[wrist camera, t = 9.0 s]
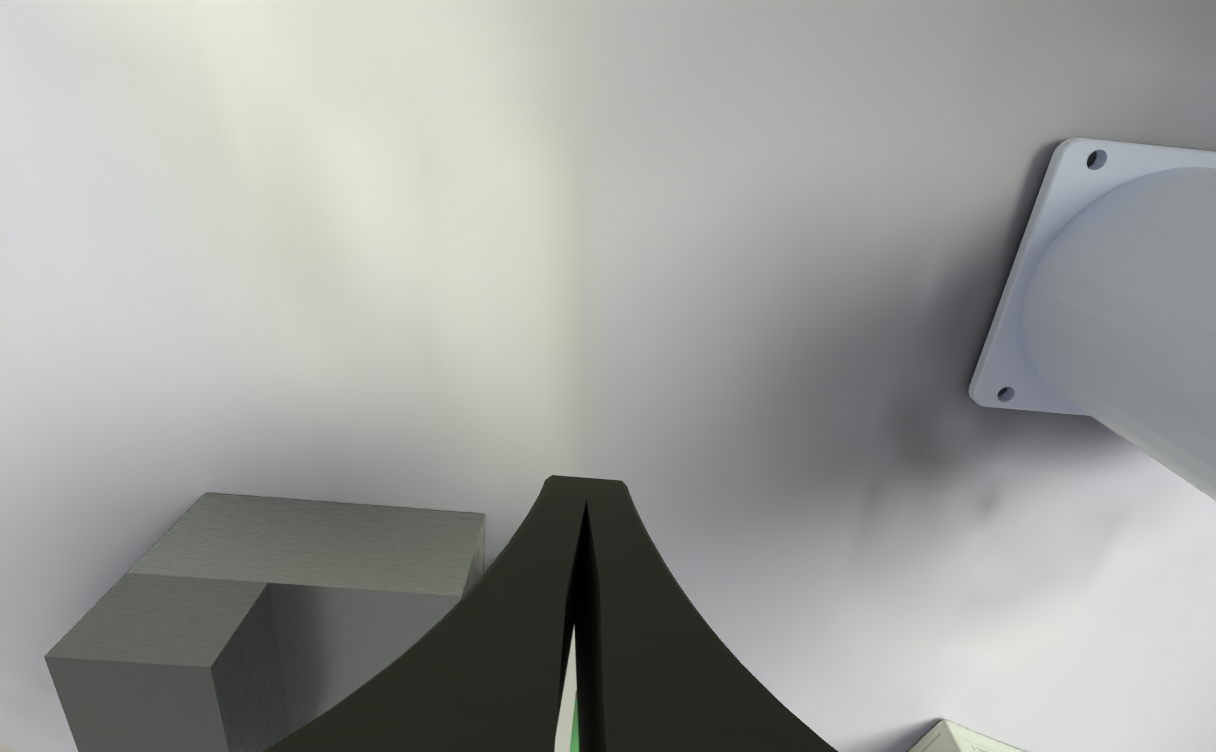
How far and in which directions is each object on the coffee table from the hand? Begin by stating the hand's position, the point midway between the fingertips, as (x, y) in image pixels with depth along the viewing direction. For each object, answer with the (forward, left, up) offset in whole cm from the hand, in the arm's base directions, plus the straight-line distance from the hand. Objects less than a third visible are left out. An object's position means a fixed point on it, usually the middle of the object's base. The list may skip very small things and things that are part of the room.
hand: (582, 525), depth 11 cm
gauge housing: (+8, +11, -9) cm, 17 cm away
